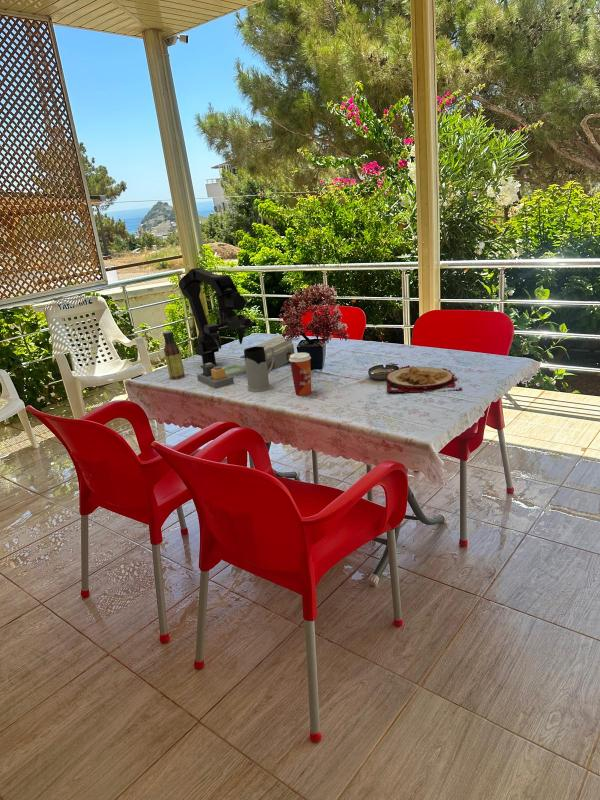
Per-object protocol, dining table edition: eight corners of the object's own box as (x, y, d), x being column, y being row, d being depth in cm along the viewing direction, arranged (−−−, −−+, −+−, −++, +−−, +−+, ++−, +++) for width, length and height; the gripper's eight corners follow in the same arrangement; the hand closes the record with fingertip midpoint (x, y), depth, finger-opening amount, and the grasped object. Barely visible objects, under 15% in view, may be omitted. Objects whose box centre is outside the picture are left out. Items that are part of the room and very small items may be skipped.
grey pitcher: (242, 389, 207) (237, 351, 202) (268, 378, 216) (264, 341, 211) (259, 393, 201) (253, 353, 196) (285, 381, 211) (280, 343, 206)
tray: (214, 373, 231) (213, 369, 230) (237, 367, 237) (236, 363, 236) (226, 378, 222) (225, 374, 222) (250, 372, 228) (249, 368, 227)
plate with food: (387, 396, 186) (386, 386, 185) (385, 371, 211) (385, 362, 210) (462, 394, 183) (462, 383, 181) (452, 368, 207) (452, 359, 206)
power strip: (198, 381, 223) (196, 374, 222) (215, 376, 227) (214, 369, 226) (215, 389, 210) (214, 382, 209) (234, 384, 214) (233, 377, 213)
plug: (213, 384, 216) (210, 367, 213) (222, 381, 218) (219, 364, 215) (217, 386, 213) (215, 369, 210) (226, 383, 215) (224, 366, 212)
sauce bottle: (188, 376, 231) (179, 329, 225) (179, 381, 226) (170, 333, 220) (175, 375, 234) (167, 329, 228) (166, 380, 229) (157, 333, 222)
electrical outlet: (306, 356, 240) (302, 334, 236) (259, 379, 221) (255, 356, 218) (286, 353, 248) (283, 332, 244) (240, 375, 229) (235, 353, 225)
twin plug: (204, 380, 222) (201, 363, 220) (213, 377, 224) (210, 361, 222) (208, 382, 219) (206, 365, 216) (217, 379, 221) (215, 363, 218)
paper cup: (307, 397, 191) (303, 358, 186) (288, 395, 195) (284, 357, 190) (318, 390, 197) (314, 352, 193) (300, 388, 201) (296, 351, 197)
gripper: (212, 315, 208) (217, 354, 213) (255, 306, 217) (260, 344, 222) (200, 311, 217) (206, 349, 222) (242, 303, 226) (247, 340, 231)
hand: (230, 346), depth 224 cm, fingers open, 9 cm apart
